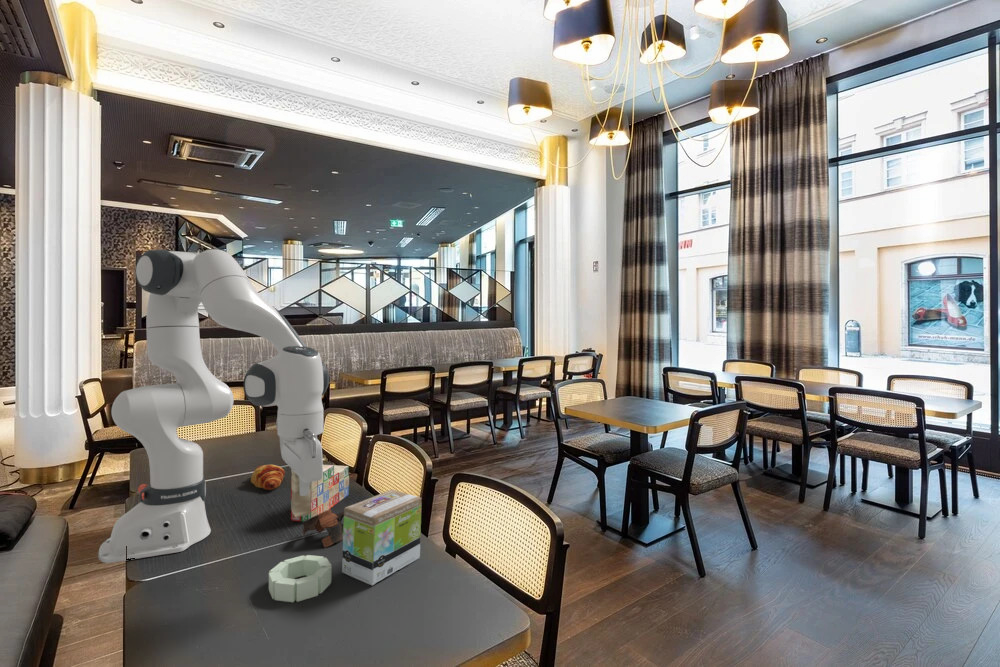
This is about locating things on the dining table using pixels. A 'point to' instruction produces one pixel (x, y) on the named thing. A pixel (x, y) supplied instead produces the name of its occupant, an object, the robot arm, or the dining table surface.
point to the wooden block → (300, 498)
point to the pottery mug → (326, 526)
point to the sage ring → (302, 588)
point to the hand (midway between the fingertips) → (301, 491)
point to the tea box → (381, 535)
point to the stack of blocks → (326, 490)
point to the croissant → (267, 476)
